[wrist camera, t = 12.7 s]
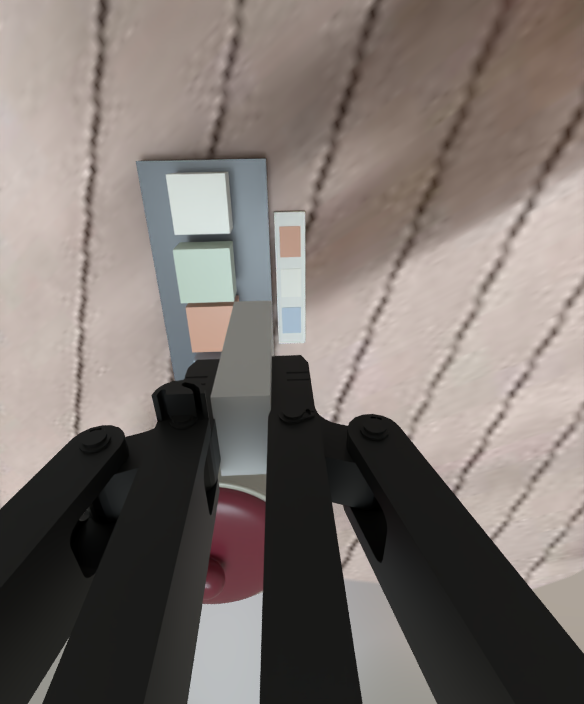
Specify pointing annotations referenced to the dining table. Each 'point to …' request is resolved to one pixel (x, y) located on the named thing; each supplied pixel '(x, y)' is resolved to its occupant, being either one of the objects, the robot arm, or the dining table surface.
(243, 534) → the canister
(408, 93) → the dining table surface
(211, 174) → the key ivory
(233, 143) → the dining table surface
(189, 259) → the key sage
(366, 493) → the robot arm
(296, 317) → the card
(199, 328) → the key terracotta
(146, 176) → the keypad board
